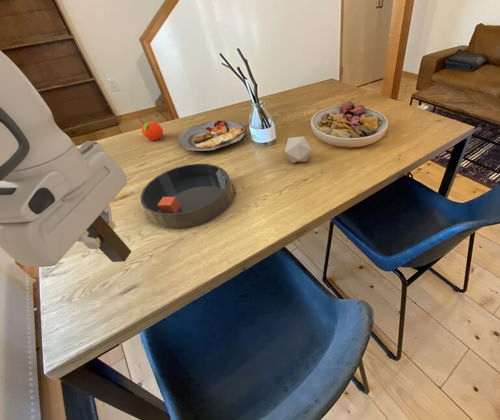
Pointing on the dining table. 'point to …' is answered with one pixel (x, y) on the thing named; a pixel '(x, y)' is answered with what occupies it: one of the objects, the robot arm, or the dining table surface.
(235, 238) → the dining table surface
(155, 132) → the clementine
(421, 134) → the dining table surface
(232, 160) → the dining table surface
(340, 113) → the bowl
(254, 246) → the dining table surface
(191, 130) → the food plate
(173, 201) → the block
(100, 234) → the stick
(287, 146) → the die
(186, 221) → the bowl
